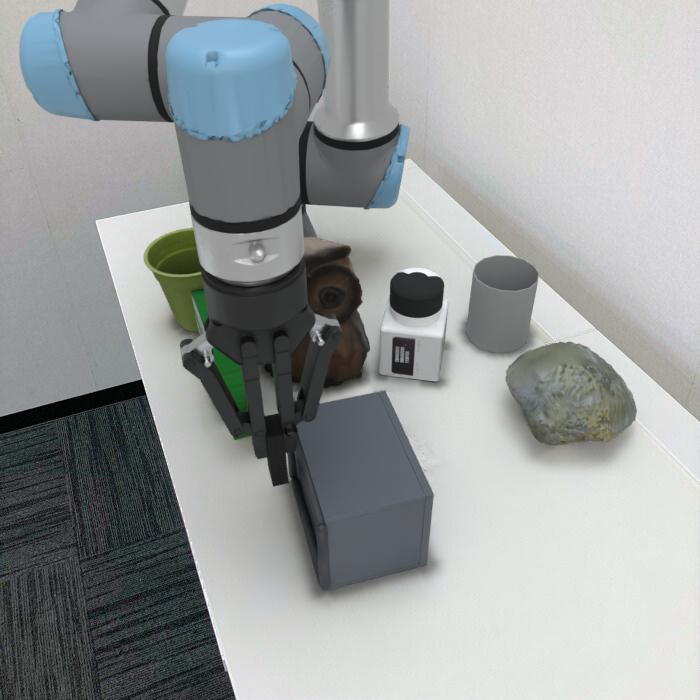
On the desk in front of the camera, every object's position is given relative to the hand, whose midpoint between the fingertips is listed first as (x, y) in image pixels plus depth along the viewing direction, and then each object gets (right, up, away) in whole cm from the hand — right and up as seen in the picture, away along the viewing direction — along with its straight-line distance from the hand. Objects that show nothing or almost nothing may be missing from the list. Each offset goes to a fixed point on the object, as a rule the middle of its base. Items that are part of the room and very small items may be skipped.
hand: (278, 473), depth 66 cm
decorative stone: (+33, +3, +19) cm, 38 cm away
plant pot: (-14, +16, +35) cm, 41 cm away
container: (+15, +10, +27) cm, 33 cm away
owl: (+3, +10, +28) cm, 30 cm away
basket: (+8, -6, +8) cm, 13 cm away
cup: (+27, +14, +31) cm, 44 cm away
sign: (-9, +7, +24) cm, 27 cm away
